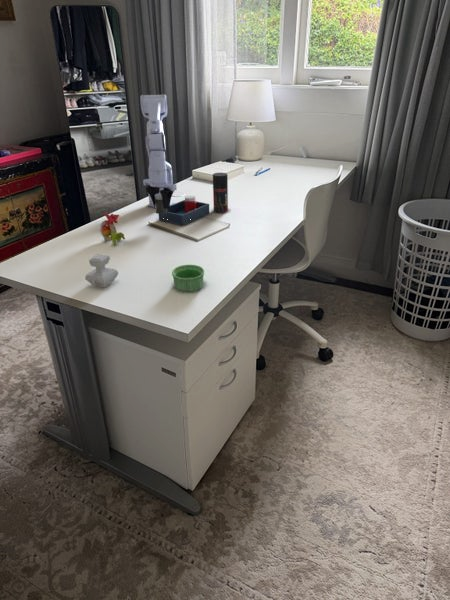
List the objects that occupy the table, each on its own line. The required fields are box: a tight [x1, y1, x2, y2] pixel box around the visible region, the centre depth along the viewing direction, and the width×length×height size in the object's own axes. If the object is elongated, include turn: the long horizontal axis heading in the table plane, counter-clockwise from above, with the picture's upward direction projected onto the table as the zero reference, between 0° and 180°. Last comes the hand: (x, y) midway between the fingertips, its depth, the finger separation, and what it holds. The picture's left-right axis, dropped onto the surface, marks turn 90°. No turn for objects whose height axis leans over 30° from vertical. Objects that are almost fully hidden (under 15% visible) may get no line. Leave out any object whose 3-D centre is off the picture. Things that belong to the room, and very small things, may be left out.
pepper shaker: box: [154, 193, 168, 215], centre depth 156 cm, size 5×5×7 cm
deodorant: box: [212, 172, 229, 214], centre depth 173 cm, size 6×6×15 cm
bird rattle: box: [99, 212, 126, 246], centre depth 146 cm, size 6×11×9 cm
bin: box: [158, 199, 210, 226], centre depth 170 cm, size 12×17×4 cm
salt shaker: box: [184, 194, 197, 213], centre depth 172 cm, size 5×5×7 cm
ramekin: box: [171, 264, 205, 292], centre depth 118 cm, size 9×9×4 cm
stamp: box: [84, 253, 119, 288], centre depth 119 cm, size 9×7×8 cm
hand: (161, 207), depth 157 cm, fingers closed on pepper shaker, 4 cm apart
